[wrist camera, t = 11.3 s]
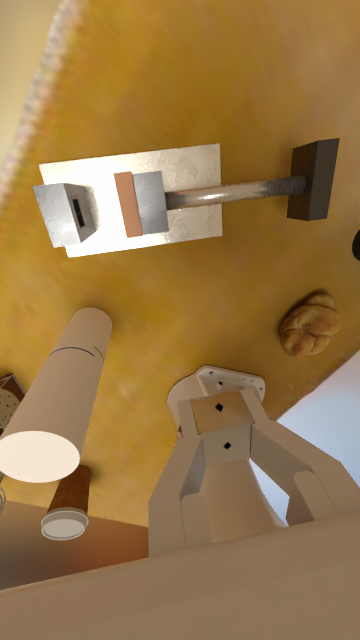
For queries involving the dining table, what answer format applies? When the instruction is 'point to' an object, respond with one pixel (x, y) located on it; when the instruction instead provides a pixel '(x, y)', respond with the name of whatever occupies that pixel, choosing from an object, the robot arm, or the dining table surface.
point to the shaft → (277, 185)
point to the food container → (9, 399)
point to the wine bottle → (356, 246)
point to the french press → (0, 477)
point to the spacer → (128, 204)
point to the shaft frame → (150, 184)
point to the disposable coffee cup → (68, 507)
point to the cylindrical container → (58, 404)
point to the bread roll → (310, 326)
